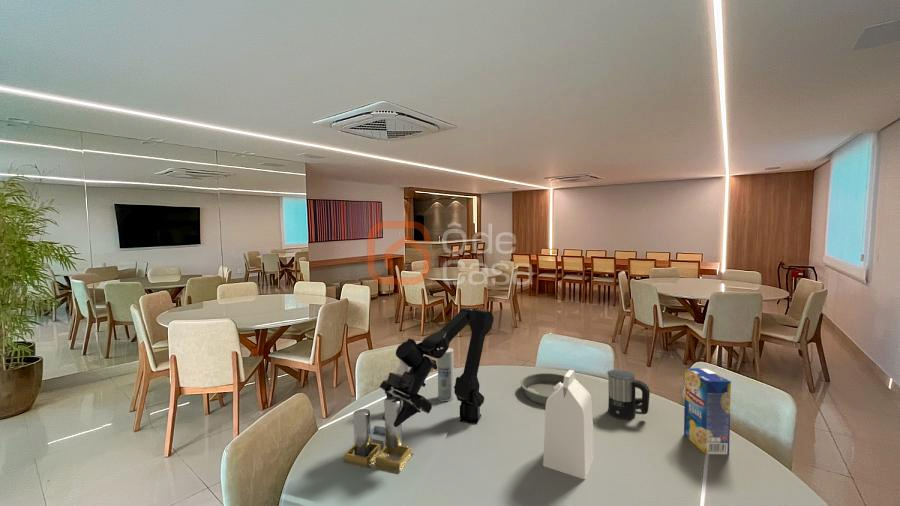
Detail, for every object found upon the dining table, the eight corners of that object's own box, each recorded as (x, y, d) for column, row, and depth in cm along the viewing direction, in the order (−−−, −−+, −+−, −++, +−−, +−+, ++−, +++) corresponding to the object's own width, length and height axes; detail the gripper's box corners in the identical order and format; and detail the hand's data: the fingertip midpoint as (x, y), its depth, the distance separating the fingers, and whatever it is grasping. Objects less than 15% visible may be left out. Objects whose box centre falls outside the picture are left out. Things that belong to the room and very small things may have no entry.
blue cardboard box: (705, 434, 120) (706, 368, 119) (729, 454, 109) (731, 381, 108) (683, 434, 120) (684, 368, 119) (705, 454, 109) (707, 381, 108)
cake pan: (534, 378, 169) (534, 368, 169) (589, 391, 155) (590, 380, 154) (510, 397, 149) (510, 387, 149) (571, 414, 135) (571, 402, 134)
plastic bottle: (412, 415, 135) (411, 361, 134) (394, 413, 137) (393, 360, 136) (417, 407, 142) (416, 355, 141) (400, 405, 143) (399, 355, 142)
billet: (402, 438, 110) (401, 396, 109) (401, 447, 105) (400, 403, 104) (386, 439, 110) (385, 396, 109) (384, 448, 105) (383, 404, 104)
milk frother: (606, 417, 132) (607, 376, 131) (606, 398, 147) (607, 362, 146) (651, 424, 127) (652, 382, 126) (647, 404, 141) (647, 366, 140)
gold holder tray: (413, 456, 110) (413, 447, 110) (398, 477, 100) (398, 467, 100) (361, 446, 116) (361, 437, 116) (342, 465, 106) (342, 455, 106)
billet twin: (374, 452, 111) (373, 410, 110) (365, 461, 106) (364, 417, 105) (360, 449, 112) (359, 408, 112) (351, 458, 108) (350, 415, 107)
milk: (585, 479, 99) (585, 384, 97) (543, 465, 105) (543, 376, 103) (594, 456, 109) (594, 370, 108) (555, 445, 115) (555, 363, 114)
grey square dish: (395, 437, 120) (395, 428, 120) (383, 450, 113) (383, 440, 113) (374, 433, 123) (374, 424, 123) (362, 446, 116) (362, 436, 116)
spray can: (435, 400, 147) (434, 351, 146) (441, 393, 153) (441, 346, 152) (450, 403, 145) (449, 353, 144) (456, 396, 151) (455, 348, 150)
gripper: (383, 354, 115) (353, 400, 108) (423, 369, 102) (392, 422, 95) (404, 372, 121) (377, 417, 114) (443, 387, 109) (416, 439, 101)
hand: (389, 423), depth 106 cm, fingers closed on billet, 5 cm apart
